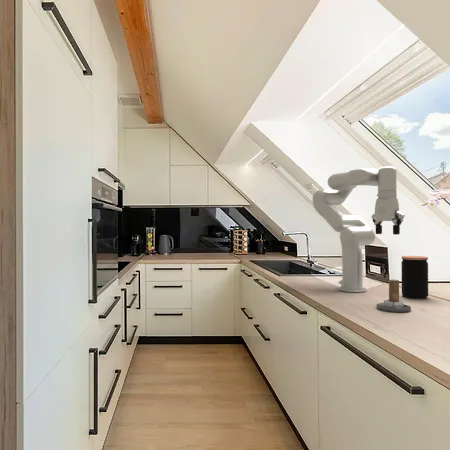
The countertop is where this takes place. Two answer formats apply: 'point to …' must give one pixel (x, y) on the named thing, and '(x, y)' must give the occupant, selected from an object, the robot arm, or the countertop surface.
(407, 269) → the coffee jar
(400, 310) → the round metal socket base
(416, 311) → the countertop surface
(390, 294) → the tan wooden beam
